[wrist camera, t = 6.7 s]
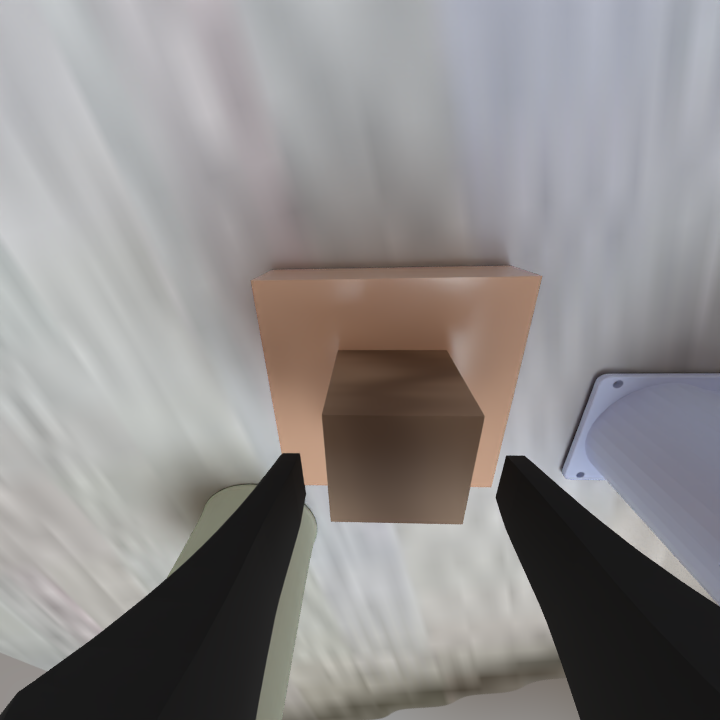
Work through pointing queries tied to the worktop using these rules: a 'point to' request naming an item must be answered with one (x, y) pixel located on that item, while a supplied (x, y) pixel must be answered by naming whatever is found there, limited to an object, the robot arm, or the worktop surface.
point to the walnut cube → (399, 437)
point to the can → (290, 596)
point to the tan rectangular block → (391, 339)
